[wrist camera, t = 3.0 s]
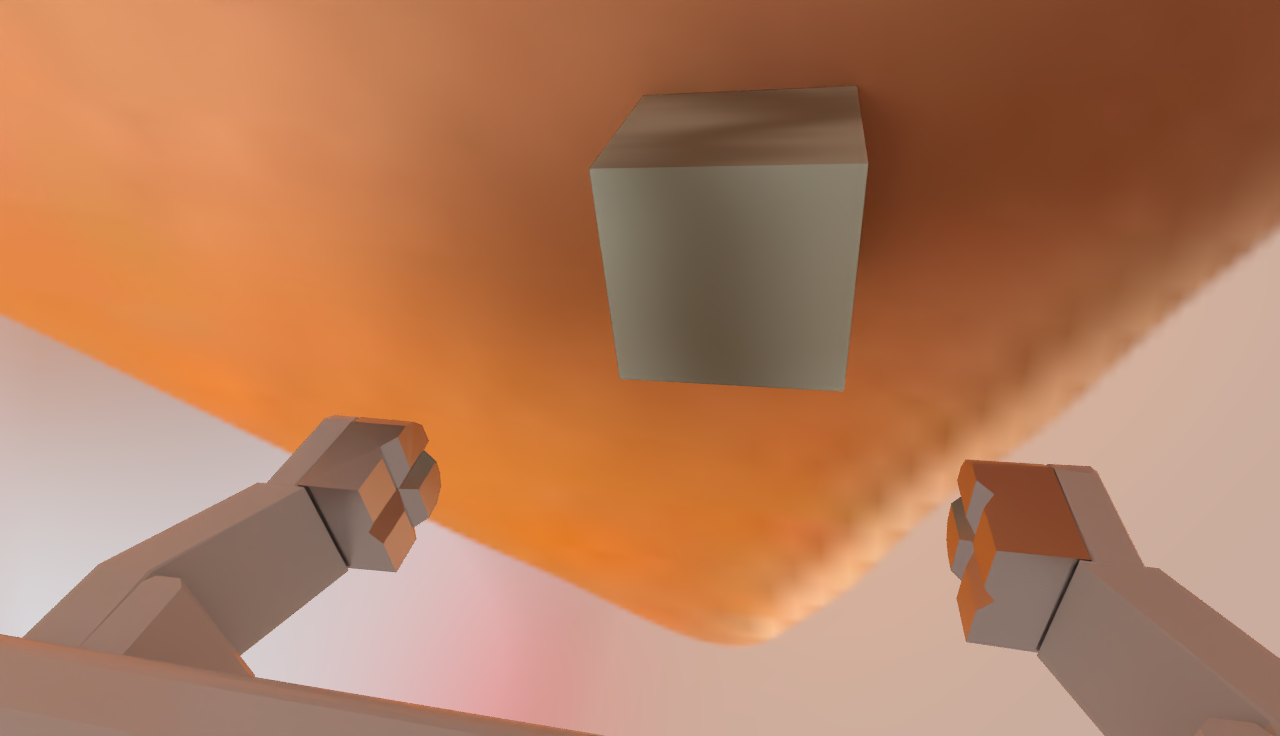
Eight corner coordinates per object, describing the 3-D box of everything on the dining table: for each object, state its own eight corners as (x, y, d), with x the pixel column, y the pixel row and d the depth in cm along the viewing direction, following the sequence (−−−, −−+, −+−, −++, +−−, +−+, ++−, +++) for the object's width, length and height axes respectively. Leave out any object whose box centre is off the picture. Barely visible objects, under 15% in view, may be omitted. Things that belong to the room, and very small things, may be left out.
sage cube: (857, 85, 15) (868, 163, 11) (839, 277, 18) (844, 391, 14) (644, 94, 16) (588, 169, 13) (660, 274, 19) (619, 379, 16)
